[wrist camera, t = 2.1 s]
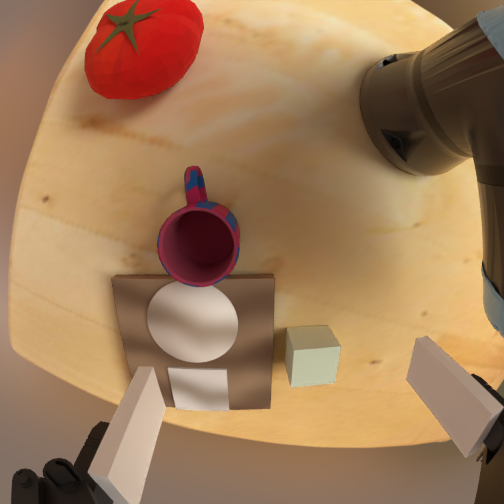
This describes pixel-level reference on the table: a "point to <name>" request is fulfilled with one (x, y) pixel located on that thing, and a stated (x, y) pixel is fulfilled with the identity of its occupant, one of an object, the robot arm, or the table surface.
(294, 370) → the pale sage green cube
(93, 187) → the table surface
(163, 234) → the mug
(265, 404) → the board
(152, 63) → the tomato
